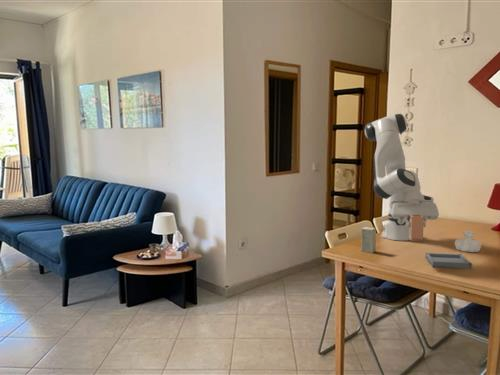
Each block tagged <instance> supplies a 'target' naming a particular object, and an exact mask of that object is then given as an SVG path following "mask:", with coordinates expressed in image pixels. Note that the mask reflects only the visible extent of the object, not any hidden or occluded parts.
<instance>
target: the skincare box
mask: <svg viewBox="0 0 500 375" xmlns="http://www.w3.org/2000/svg"><path fill="white" fill-rule="evenodd" d="M360 232H361V234H360V239H361V241H360V246H361V249H360V251H361V252H365V253H366V252H367V253H371V254H372V253H375V252H376V251H377V250H376V248H377V247H376V244H377V242H376V239H377V236H376V234H377V232H376V227H369V226H363V227H361V228H360Z"/></svg>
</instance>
